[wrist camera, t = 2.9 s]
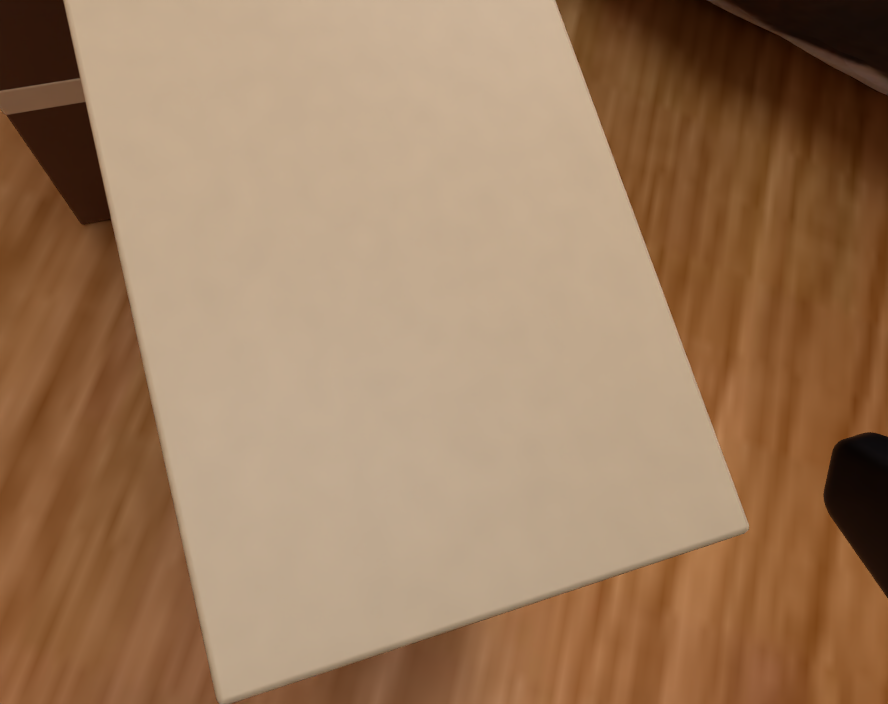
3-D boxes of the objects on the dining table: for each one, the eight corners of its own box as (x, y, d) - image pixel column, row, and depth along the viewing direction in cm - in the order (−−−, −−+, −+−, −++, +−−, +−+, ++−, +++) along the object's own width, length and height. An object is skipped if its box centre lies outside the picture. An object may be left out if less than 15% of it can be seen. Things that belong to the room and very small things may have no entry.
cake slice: (487, 554, 19) (757, 532, 8) (281, 618, 18) (216, 712, 6) (387, 217, 21) (475, -226, 9) (195, 258, 20) (19, -185, 8)
